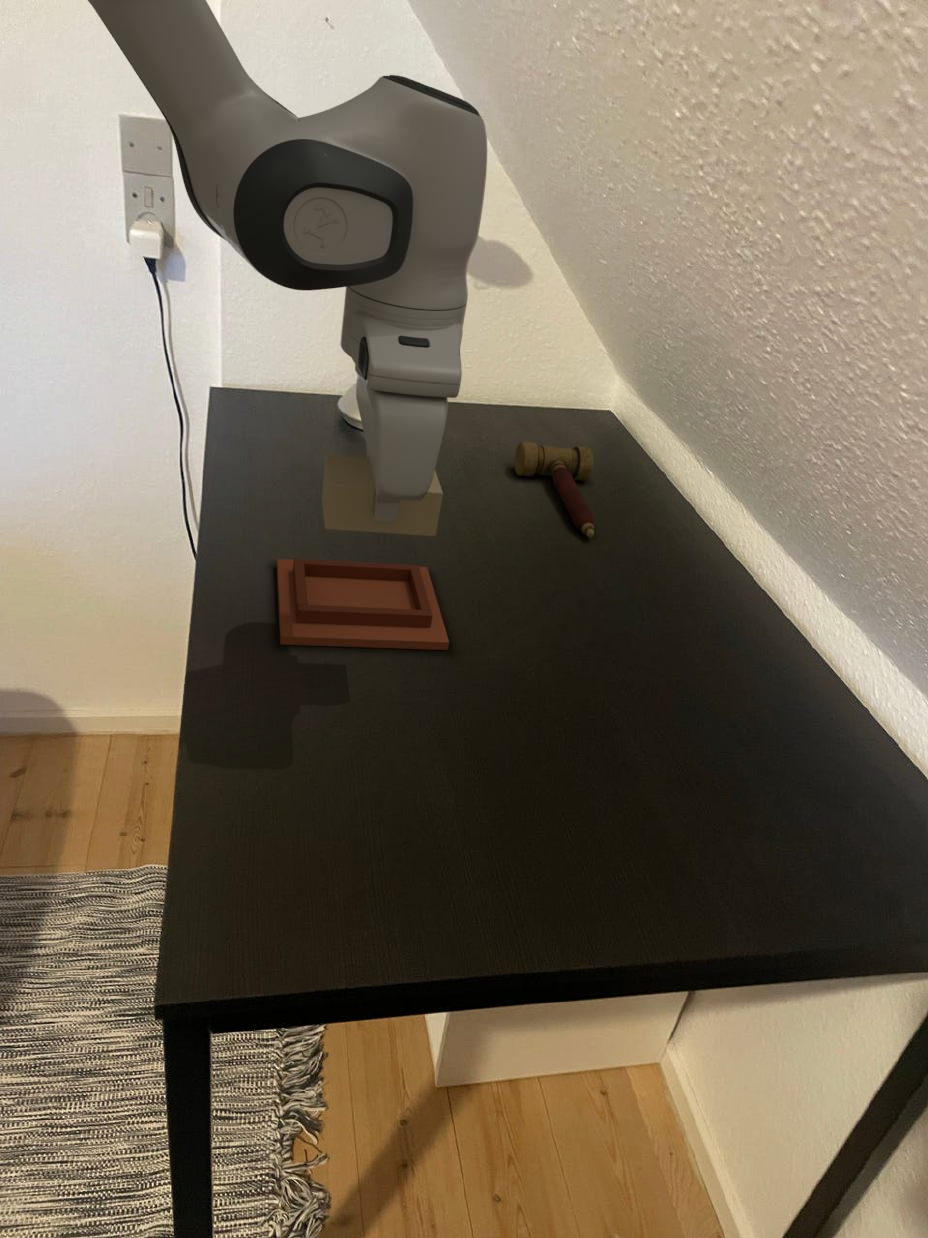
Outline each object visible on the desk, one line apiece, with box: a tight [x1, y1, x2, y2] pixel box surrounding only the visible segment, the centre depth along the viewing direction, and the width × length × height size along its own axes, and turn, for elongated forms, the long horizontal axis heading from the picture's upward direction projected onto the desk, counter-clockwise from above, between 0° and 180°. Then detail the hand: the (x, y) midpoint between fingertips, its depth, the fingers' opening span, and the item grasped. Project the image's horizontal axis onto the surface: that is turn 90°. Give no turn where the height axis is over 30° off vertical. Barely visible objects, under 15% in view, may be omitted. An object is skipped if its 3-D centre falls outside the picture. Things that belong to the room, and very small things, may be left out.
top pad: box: [321, 454, 444, 537], centre depth 77 cm, size 9×6×4 cm, turn 99°
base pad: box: [276, 558, 450, 651], centre depth 95 cm, size 16×14×2 cm
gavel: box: [514, 441, 595, 539], centre depth 124 cm, size 21×5×10 cm
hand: (379, 498), depth 77 cm, fingers closed on top pad, 5 cm apart
